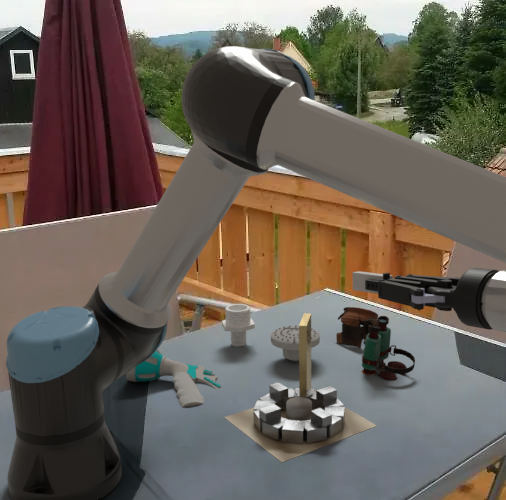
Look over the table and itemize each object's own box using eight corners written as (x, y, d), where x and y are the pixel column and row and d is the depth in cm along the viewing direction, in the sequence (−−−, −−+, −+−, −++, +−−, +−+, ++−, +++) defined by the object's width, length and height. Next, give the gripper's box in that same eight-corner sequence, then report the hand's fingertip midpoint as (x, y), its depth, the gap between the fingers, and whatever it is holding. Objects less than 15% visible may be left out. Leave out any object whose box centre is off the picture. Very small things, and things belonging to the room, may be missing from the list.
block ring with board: (340, 446, 96) (341, 356, 93) (246, 438, 99) (243, 350, 96) (348, 393, 113) (349, 315, 109) (267, 387, 116) (266, 311, 112)
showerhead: (268, 339, 122) (272, 320, 132) (269, 375, 124) (272, 354, 134) (319, 340, 121) (319, 321, 131) (319, 376, 123) (319, 355, 133)
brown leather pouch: (323, 342, 141) (331, 304, 143) (356, 352, 146) (363, 316, 148) (362, 344, 131) (370, 304, 133) (395, 356, 136) (402, 317, 138)
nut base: (282, 469, 93) (281, 441, 92) (224, 424, 106) (223, 398, 105) (376, 432, 103) (377, 406, 102) (313, 394, 116) (313, 371, 115)
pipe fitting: (216, 344, 140) (214, 308, 138) (241, 335, 144) (240, 300, 143) (235, 352, 135) (234, 315, 133) (261, 343, 140) (260, 307, 138)
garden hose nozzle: (239, 386, 112) (212, 333, 130) (135, 392, 107) (122, 336, 125) (235, 422, 114) (209, 366, 132) (133, 430, 109) (121, 370, 127)
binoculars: (411, 340, 114) (357, 325, 119) (403, 395, 117) (351, 378, 122) (427, 324, 121) (375, 310, 126) (419, 376, 124) (369, 361, 129)
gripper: (466, 339, 79) (325, 311, 97) (524, 321, 87) (384, 299, 105) (466, 276, 78) (324, 260, 96) (525, 264, 86) (384, 252, 104)
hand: (356, 280), depth 101 cm, fingers closed
